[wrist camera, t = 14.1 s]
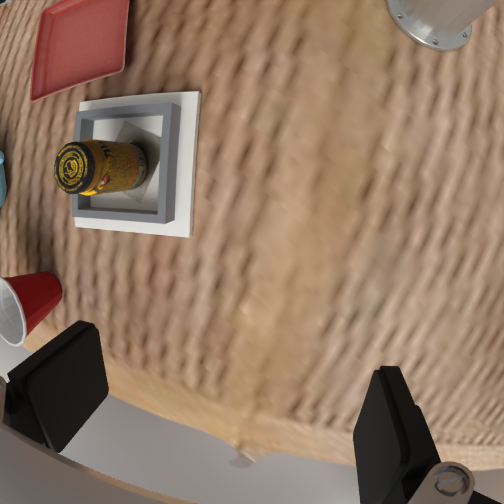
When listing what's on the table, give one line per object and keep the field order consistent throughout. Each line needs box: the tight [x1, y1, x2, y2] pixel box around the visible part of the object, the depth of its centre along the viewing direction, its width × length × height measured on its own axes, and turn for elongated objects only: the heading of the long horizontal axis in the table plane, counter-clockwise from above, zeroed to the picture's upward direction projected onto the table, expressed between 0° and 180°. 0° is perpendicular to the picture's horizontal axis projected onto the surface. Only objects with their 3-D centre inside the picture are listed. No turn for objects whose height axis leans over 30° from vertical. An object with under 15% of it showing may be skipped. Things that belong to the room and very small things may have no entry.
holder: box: [72, 91, 201, 238], centre depth 38 cm, size 18×18×4 cm
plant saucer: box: [30, 0, 130, 103], centre depth 35 cm, size 18×18×3 cm
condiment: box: [54, 121, 161, 203], centre depth 33 cm, size 7×8×12 cm
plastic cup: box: [0, 272, 62, 347], centre depth 41 cm, size 11×11×12 cm
